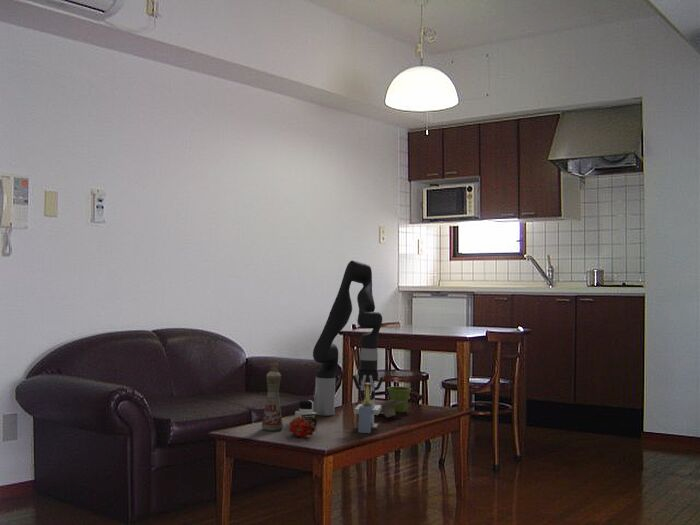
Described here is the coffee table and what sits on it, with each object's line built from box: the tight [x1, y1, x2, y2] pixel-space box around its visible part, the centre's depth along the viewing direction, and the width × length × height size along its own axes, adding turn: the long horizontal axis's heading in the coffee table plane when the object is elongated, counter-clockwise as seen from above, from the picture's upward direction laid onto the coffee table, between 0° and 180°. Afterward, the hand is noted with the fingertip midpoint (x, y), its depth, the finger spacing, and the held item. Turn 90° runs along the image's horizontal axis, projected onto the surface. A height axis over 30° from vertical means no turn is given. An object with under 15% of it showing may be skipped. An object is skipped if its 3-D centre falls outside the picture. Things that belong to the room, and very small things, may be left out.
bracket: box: [358, 403, 374, 434], centre depth 340 cm, size 5×12×10 cm, turn 172°
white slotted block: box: [378, 399, 404, 418], centre depth 374 cm, size 16×9×15 cm
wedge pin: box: [364, 383, 372, 406], centre depth 342 cm, size 3×3×13 cm
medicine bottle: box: [294, 399, 318, 431], centre depth 339 cm, size 7×7×12 cm
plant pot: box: [386, 386, 412, 413], centre depth 392 cm, size 12×12×11 cm
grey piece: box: [353, 397, 382, 429], centre depth 345 cm, size 10×14×14 cm
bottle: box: [261, 361, 284, 432], centre depth 336 cm, size 9×9×28 cm
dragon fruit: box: [287, 417, 316, 439], centre depth 321 cm, size 8×8×12 cm
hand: (367, 399), depth 342 cm, fingers open, 3 cm apart
